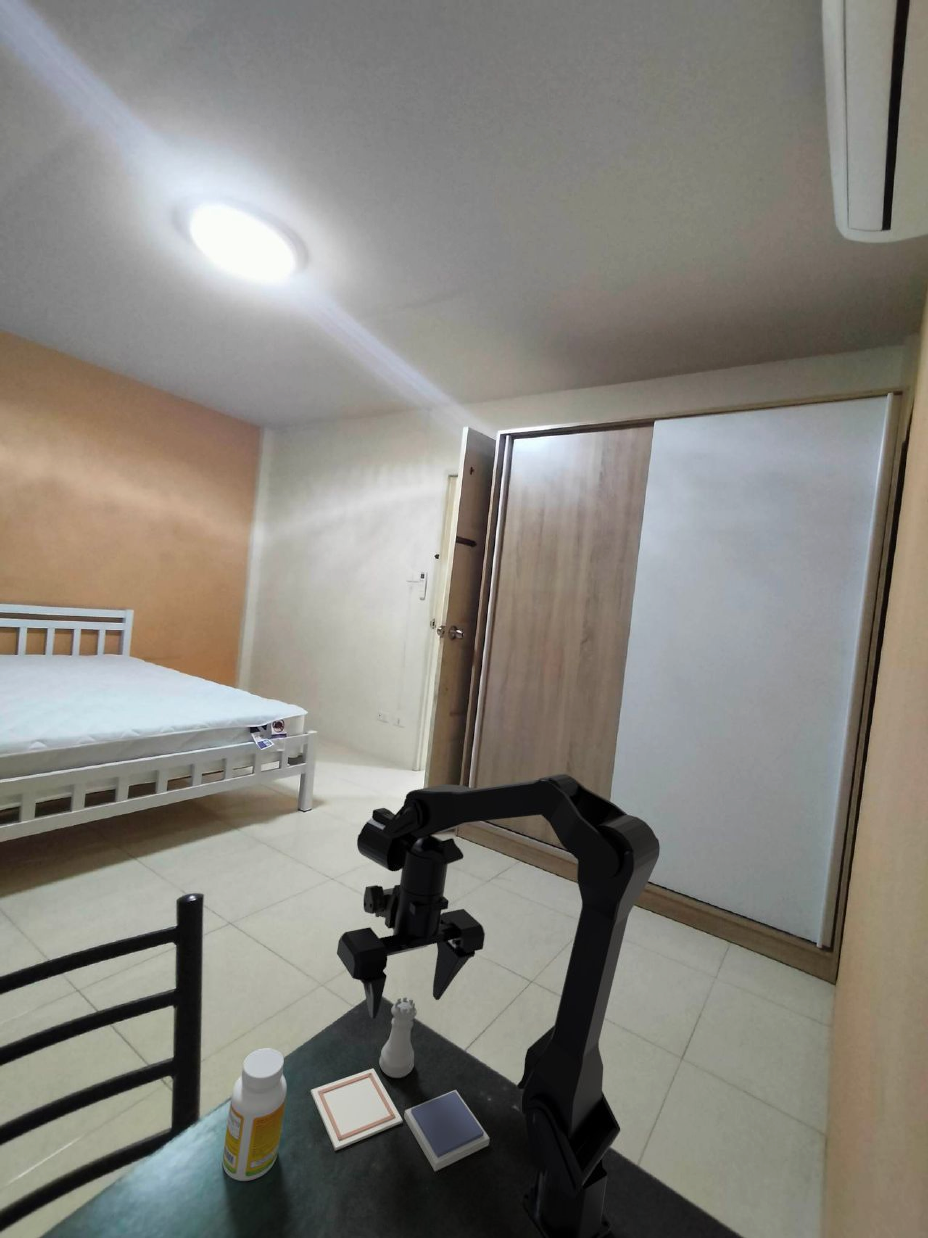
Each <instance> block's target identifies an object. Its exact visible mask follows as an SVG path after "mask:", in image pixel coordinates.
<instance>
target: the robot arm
mask: <svg viewBox="0 0 928 1238" xmlns="http://www.w3.org/2000/svg"><path fill="white" fill-rule="evenodd" d="M533 816H542V817H543V818H544V819H545V820H546V821H547V822H548V823H549V824H550V826H551V828H552V830H553V832H554V834H555V835H556V837H557V839H558V840H559V842H560V844H561V845H562V847H563V848H564V849H566V851H567V852H569V853H570V854H571V855H572V856H573V857H574V858H575V859H577V869H576V881H577V886H578V890H579V894H580V898H581V908H580V909H581V910H580V913H579V918H578V923H577V926H576V931H575V936H574V939H573V944H572V948H571V952H570V957H569V961H568V965H567V969H566V970H567V971H566V974H565V978H564V982H563V987H562V992H561V995H560V999H559V1005H558V1007H557V1008H558V1009H557V1014H556V1017H555V1021H554V1022H555V1023H554V1025H552V1027H550V1028H549V1029H548V1030H547V1031H546V1032H545V1033H544V1034H542V1035H541V1036H540V1038H538V1039H537V1040H536V1041H535V1042H533V1043H532V1045H530V1046H529V1047H528V1048H527V1050H526V1053H525V1057H524V1065H523V1066H524V1068H523V1075H522V1077H521V1080H520V1081H519V1082H518V1083H517V1085H516V1087H517V1089H518V1090H522V1092H521V1096H520V1108H521V1109H520V1110H521V1113H522V1114H523V1115H524V1117H525V1123H526V1132H527V1138H528V1145H529V1146H528V1147H529V1152H530V1153H529V1154H530V1160H531V1161H530V1162H531V1164H532V1165H533V1171H532V1177H531V1178H532V1180H531V1183H532V1184H533V1186H532V1187H530V1188H528V1189H527V1190H525V1191H524V1192H522V1193H521V1198H520V1202H521V1203H522V1205H523V1206H524V1208H525V1209H526V1212H528V1213H529V1216H530V1217H531V1218H532V1219H533V1221H534V1223H535V1224H536V1226H537V1227H538V1229H539V1230H540V1231H541V1233H542V1235H543V1236H544V1237H545V1238H603V1237H605V1236H606V1235H608V1234H609V1233H610V1232H609V1231H611V1223H610V1222H609V1220H608V1219H607V1218H606V1216H605V1215H604V1214H603V1208H604V1201H605V1194H606V1186H607V1182H608V1181H607V1180H608V1172H607V1171H606V1169H605V1168H604V1167H603V1157H604V1155H605V1154H606V1153H607V1151H608V1150H609V1148H610V1147H611V1146H612V1144H613V1143H614V1142H615V1140H616V1139H617V1137H618V1135H619V1134H620V1132H621V1127H620V1125H619V1122H618V1121H617V1119H616V1115H615V1114H614V1112H613V1110H612V1108H611V1106H610V1104H609V1102H608V1099H607V1098H606V1096H605V1094H604V1091H603V1082H604V1081H603V1080H604V1079H603V1078H604V1064H603V1061H602V1060H603V1059H602V1055H601V1052H600V1048H599V1045H600V1039H601V1033H602V1030H603V1025H604V1020H605V1018H606V1017H605V1016H606V1012H607V1008H608V1003H609V998H610V995H611V991H612V987H613V983H614V978H615V973H616V970H617V966H618V961H619V956H620V954H621V949H622V946H623V945H622V944H623V940H624V936H625V931H626V928H627V924H628V918H629V915H630V913H631V912H632V909H633V908H634V906H635V904H636V903H637V901H638V899H639V898H640V896H641V894H642V893H643V891H644V889H645V888H646V886H647V884H648V882H649V879H650V878H651V875H652V873H653V871H654V869H655V867H656V865H657V862H658V860H659V857H660V850H661V846H660V842H659V839H658V838H657V836H656V834H655V833H654V830H653V829H652V828H651V826H650V825H649V824H648V823H647V822H646V821H644V820H643V819H641V818H639V817H637V816H634V815H630V814H628V813H626V812H625V811H624V810H623V809H622V808H620V807H619V806H617V804H615V803H613V802H612V801H610V800H608V799H606V798H604V797H602V796H601V795H598V793H595V792H593V791H591V790H589V788H586V787H585V786H584V785H583V784H581V783H580V782H579V781H578V780H576V779H575V778H574V777H572V776H571V775H568V774H566V773H557V774H553V775H548V776H543V777H540V778H539V779H538V778H537V779H531V780H523V781H519V782H512V783H506V784H498V785H497V784H496V785H493V786H491V785H490V786H485V787H479V788H477V787H469V786H465V785H461V784H446V783H445V784H438V785H435V786H428V787H423V788H419V789H414V790H411V791H409V792H407V794H406V795H405V798H404V802H403V805H402V807H401V808H400V809H398V811H397V812H396V813H393V812H392V811H391V810H389V809H388V808H386V807H381V808H375V809H373V810H372V816H371V818H369V820H367V821H366V822H365V823H364V825H363V827H362V828H361V830H360V832H359V833H358V834H357V840H356V842H357V843H356V846H357V850H358V853H360V854H361V855H362V856H363V857H365V858H367V859H369V860H370V861H372V862H374V863H375V864H377V865H379V866H381V867H383V868H385V869H386V870H388V871H390V872H398V871H400V870H401V875H400V880H399V881H400V882H399V884H396V885H394V887H392V888H391V887H390V888H386V889H384V887H383V886H382V885H378V884H375V885H369V886H368V885H367V886H365V889H364V896H363V910H364V912H365V913H367V914H371V915H373V914H374V915H375V918H379V917H381V918H383V919H384V925H385V926H386V927H387V929H388V930H389V929H392V935H387V936H384V937H383V936H382V937H379V936H378V935H377V934H376V932H375V931H374V930H373V929H372V927H370V926H369V927H365V928H358V929H354V930H350V931H345V932H344V933H342V934H341V936H340V938H339V940H338V942H337V950H336V955H337V956H338V958H339V959H340V961H341V963H342V964H343V965H344V967H345V969H346V970H347V972H348V973H349V975H350V976H351V978H352V979H353V980H356V981H360V982H361V983H362V984H363V985H362V986H363V989H364V994H365V995H364V996H365V999H366V1001H365V1002H366V1005H367V1010H368V1014H369V1017H370V1018H371V1020H376V1018H377V1015H378V1013H379V1010H380V1007H381V1001H382V998H383V993H384V989H385V986H386V981H387V974H386V973H385V969H386V968H387V965H388V964H387V963H388V957H389V956H393V955H397V954H401V953H407V952H411V951H415V950H420V949H423V948H424V949H425V948H427V947H428V946H431V945H435V944H436V948H437V956H436V962H435V969H434V974H433V975H434V977H433V982H432V984H433V985H432V996H433V998H434V999H435V1001H439V1000H440V999H441V998H442V996H443V995H444V993H445V992H446V991H447V989H448V988H449V986H450V984H451V983H452V981H453V980H454V979H455V977H456V976H457V975H458V974H459V972H460V971H461V969H462V968H463V967H464V966H465V964H467V962H468V961H469V959H471V958H473V957H474V956H475V954H476V951H481V950H483V948H484V945H485V944H484V943H485V938H486V933H485V929H484V927H483V925H482V924H481V923H480V922H479V921H478V920H477V919H476V918H474V916H473V915H472V914H470V913H469V912H467V910H466V909H465V908H461V909H456V910H451V911H444V912H442V911H443V910H448V908H449V902H450V901H449V900H448V899H447V898H446V897H445V896H444V894H445V888H446V886H445V885H446V879H447V878H446V877H447V871H448V865H450V864H453V863H455V862H459V861H460V860H463V859H464V853H463V851H462V850H461V849H460V848H459V847H458V845H457V843H456V841H455V838H452V837H451V838H448V839H447V838H446V839H444V840H443V839H440V838H438V837H436V836H434V835H436V834H439V833H443V832H447V831H450V830H454V829H456V828H459V827H462V826H465V825H467V824H470V823H475V822H485V821H494V820H504V819H512V818H522V817H533Z"/></svg>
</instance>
